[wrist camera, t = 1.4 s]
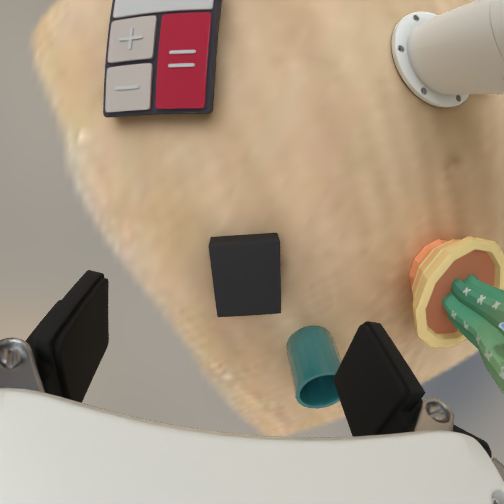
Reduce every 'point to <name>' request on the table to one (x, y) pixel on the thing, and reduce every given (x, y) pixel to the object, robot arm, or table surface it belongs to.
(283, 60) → the table surface
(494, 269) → the potted cactus
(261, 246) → the black box
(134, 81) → the calculator
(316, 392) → the cup
